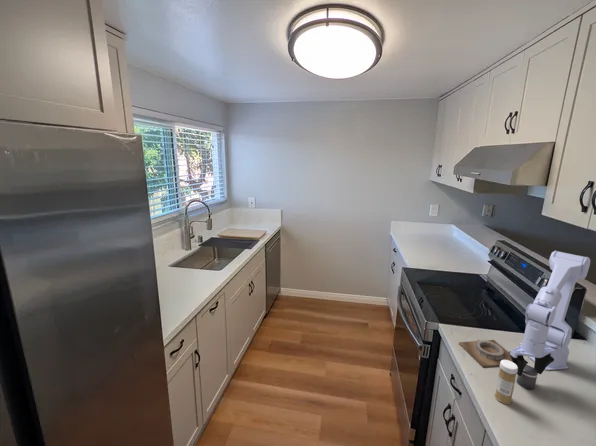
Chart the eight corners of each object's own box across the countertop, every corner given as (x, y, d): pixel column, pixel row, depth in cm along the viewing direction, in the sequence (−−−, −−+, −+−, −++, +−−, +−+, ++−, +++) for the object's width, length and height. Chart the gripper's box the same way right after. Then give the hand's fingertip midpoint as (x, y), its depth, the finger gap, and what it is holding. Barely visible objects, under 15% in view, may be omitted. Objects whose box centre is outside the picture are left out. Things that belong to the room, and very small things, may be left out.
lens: (525, 378, 102) (528, 363, 100) (538, 389, 97) (542, 374, 95) (512, 379, 101) (515, 364, 100) (525, 390, 96) (528, 375, 95)
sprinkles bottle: (513, 400, 92) (520, 365, 89) (507, 407, 90) (514, 371, 87) (497, 391, 96) (504, 357, 93) (491, 397, 93) (497, 362, 90)
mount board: (493, 341, 122) (494, 335, 121) (521, 364, 108) (522, 358, 108) (458, 343, 120) (459, 338, 120) (482, 367, 107) (483, 361, 106)
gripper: (543, 330, 99) (536, 363, 102) (505, 332, 98) (499, 366, 101) (563, 342, 92) (555, 377, 95) (523, 345, 91) (515, 381, 94)
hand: (527, 372), depth 98 cm, fingers open, 7 cm apart
